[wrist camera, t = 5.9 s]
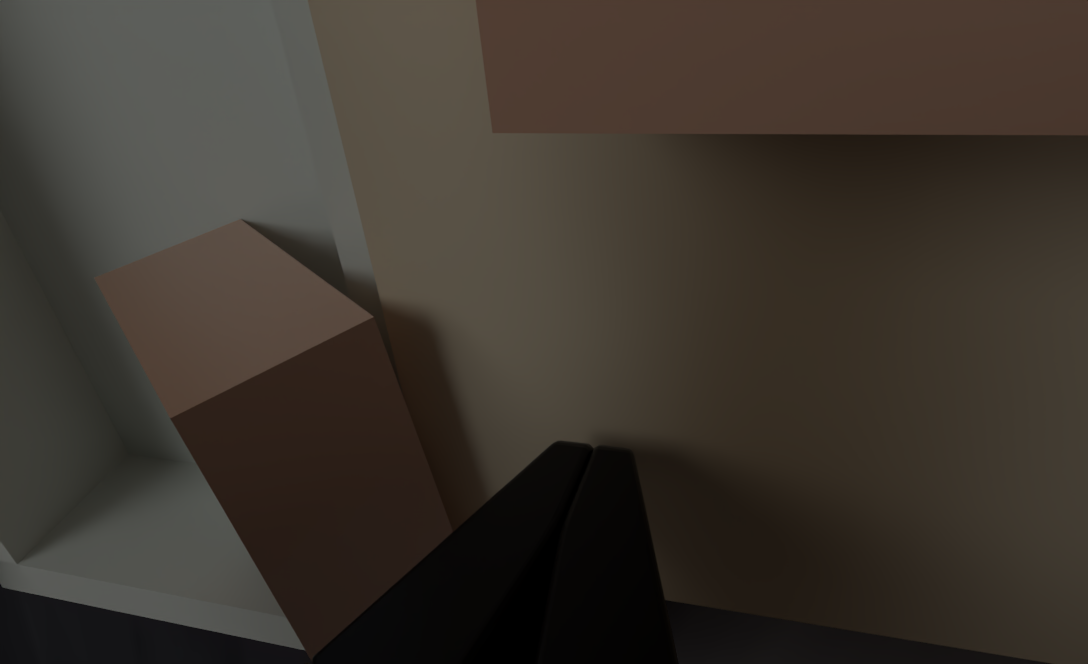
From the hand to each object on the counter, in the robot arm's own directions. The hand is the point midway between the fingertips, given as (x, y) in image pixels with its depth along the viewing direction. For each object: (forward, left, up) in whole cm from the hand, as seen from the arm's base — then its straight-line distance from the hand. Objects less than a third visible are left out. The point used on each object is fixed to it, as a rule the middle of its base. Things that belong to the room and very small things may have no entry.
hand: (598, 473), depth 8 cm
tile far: (+4, 0, -1) cm, 4 cm away
